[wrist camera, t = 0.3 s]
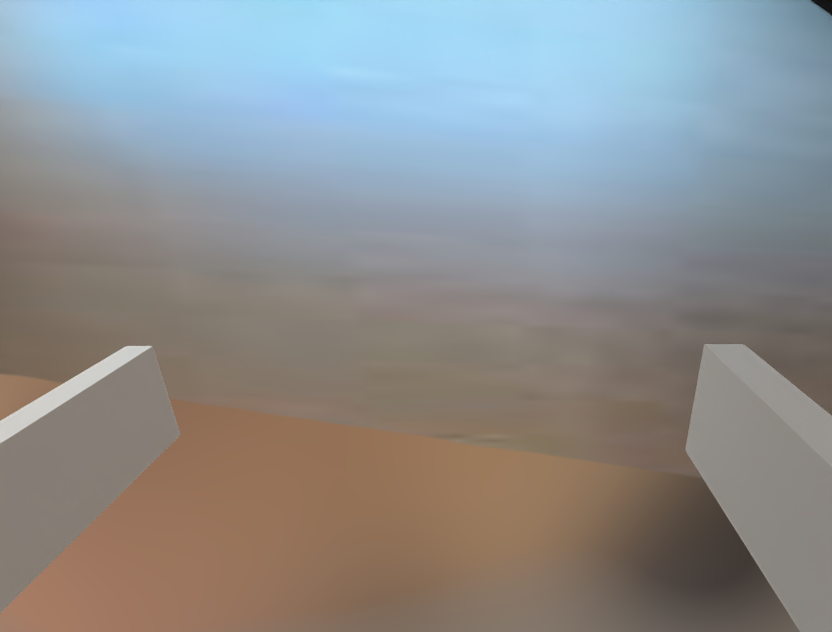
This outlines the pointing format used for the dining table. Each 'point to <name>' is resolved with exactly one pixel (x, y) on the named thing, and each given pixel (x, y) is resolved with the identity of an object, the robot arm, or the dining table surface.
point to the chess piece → (825, 4)
